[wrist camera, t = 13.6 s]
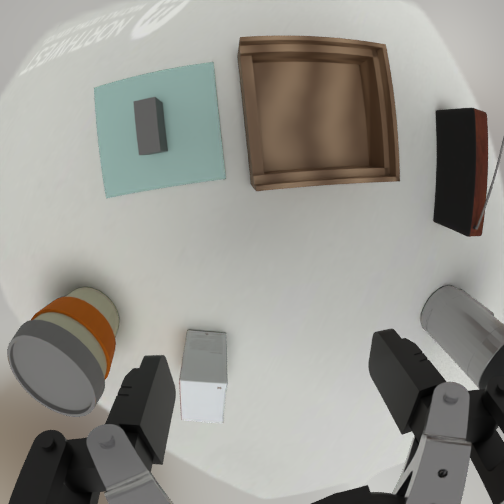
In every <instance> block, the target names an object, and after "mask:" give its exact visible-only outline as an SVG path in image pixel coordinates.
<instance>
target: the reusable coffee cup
mask: <svg viewBox="0 0 504 504" xmlns="http://www.w3.org/2000/svg"><path fill="white" fill-rule="evenodd" d="M118 327H119V316H118V312H117V310H116V308H115V306H114V304H113V303H112V301H111V300H110V299H109V298H108V297H107V296H106V295H104V294H103V293H102V292H100V291H98V290H96V289H93V288H89V287H81V288H78V289H76V290H74V291H72V292H71V293H70V294H68V295H67V296H65V297H61V298H58V299H56V300H55V301H53V302H52V303H50V304H49V305H47V306H46V307H44V308H43V309H42V310H40V311H39V312H37V313H36V314H35V315H34V316H33V318H32V319H31V321H27V322H26V323H24V324H23V325H22V326H21V327H20V328H19V330H18V331H17V333H16V334H15V336H14V337H13V339H12V340H11V342H10V343H9V346H8V350H7V354H8V361H9V364H10V367H11V370H12V372H13V374H14V375H15V377H16V379H17V380H18V382H19V383H20V384H21V386H22V387H23V388H24V389H25V390H26V391H27V392H28V393H29V394H30V395H31V396H32V397H33V398H34V399H35V400H37V401H38V402H39V403H41V404H42V405H44V406H45V407H47V408H49V409H50V410H53V411H55V412H57V413H60V414H63V415H66V416H73V417H80V416H85V415H87V414H89V413H90V412H91V411H92V410H93V409H94V407H95V406H96V404H97V402H98V401H99V399H100V397H101V396H102V394H103V391H104V388H105V379H106V378H107V377H108V374H109V371H110V367H111V363H112V359H113V355H114V352H115V345H116V342H115V337H116V333H117V330H118Z"/></svg>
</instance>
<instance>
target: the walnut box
mask: <svg viewBox="0 0 504 504" xmlns="http://www.w3.org/2000/svg"><path fill="white" fill-rule="evenodd" d="M238 65H239V74H240V84H241V93H242V103H243V112H244V121H245V131H246V141H247V150H248V160H249V170H250V179H251V185H252V186H253V188H254V189H255V190H256V191H263V190H273V189H283V188H294V187H306V186H319V185H333V184H349V183H368V182H392V181H400V169H399V146H398V132H397V120H396V110H395V101H394V93H393V85H392V78H391V72H390V66H389V60H388V54H387V49H386V44H380V43H374V42H367V41H359V40H351V39H342V38H330V37H315V36H252V37H240V41H239V49H238Z"/></svg>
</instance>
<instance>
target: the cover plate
mask: <svg viewBox="0 0 504 504" xmlns="http://www.w3.org/2000/svg"><path fill="white" fill-rule="evenodd" d="M94 95H95V111H96V124H97V134H98V144H99V152H100V160H101V167H102V174H103V181H104V187H105V193H106V198H110V197H115V196H120V195H125V194H131V193H136V192H142V191H147V190H153V189H159V188H165V187H171V186H178V185H184V184H191V183H198V182H205V181H213V180H220V179H226V176H225V168H224V159H223V150H222V141H221V132H220V123H219V114H218V104H217V95H216V85H215V75H214V65H213V62H210V63H203V64H196V65H189V66H183V67H177V68H172V69H166V70H161V71H157V72H152V73H147V74H143V75H139V76H135V77H131V78H127V79H123V80H119V81H116V82H112V83H109V84H105V85H102V86H99V87H96V88H94Z"/></svg>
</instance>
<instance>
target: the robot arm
mask: <svg viewBox="0 0 504 504" xmlns="http://www.w3.org/2000/svg"><path fill="white" fill-rule="evenodd" d="M421 324H422V327H423V328H424V329H425V330H426V332H427V333H428V334H429V335H430V336H431V337H432V338H433V339H434V340H435V341H436V342H437V343H438V344H439V345H440V346H441V347H442V348H443V349H444V351H445V352H446V353H447V354H448V355H449V356H450V357H451V358H452V359H453V360H454V361H455V362H456V364H457V365H458V366H459V367H460V368H461V369H462V370H463V371H464V372H465V373H466V375H467V376H468V377H469V378H470V379H471V380H472V381H473V382H474V383H475V385H476V386H477V387H478V388H479V389H480V390H472V391H467V389H466V388H465V387H464V386H462V385H461V384H458V383H455V382H446V381H445V379H444V378H443V377H442V376H441V374H440V373H439V372H438V371H437V369H436V368H435V367H434V366H433V364H432V363H431V362H430V361H429V360H427V357H426V356H425V355H424V353H423V354H422V351H421V350H420V349H419V347H418V346H417V345H416V344H415V343H413V342H411V341H410V340H408V339H406V338H403V339H401V337H400V336H399V335H398V334H397V332H396V331H395V330H394V329H387V330H383V331H378V332H375V333H374V334H373V338H372V345H371V351H370V358H369V372H370V376H371V378H372V380H373V381H374V383H375V385H376V387H377V389H378V391H379V392H380V394H381V396H382V398H383V400H384V402H385V404H386V405H387V407H388V409H389V411H390V413H391V415H392V417H393V419H394V420H395V422H396V424H397V426H398V428H399V430H400V432H401V434H405V433H408V432H411V431H412V432H413V434H414V435H415V436H414V438H413V440H412V443H411V446H410V450H409V453H408V456H407V459H406V462H405V465H404V468H403V471H402V473H401V476H400V478H399V480H398V482H397V484H396V486H395V488H394V490H393V492H392V494H391V493H382V492H370V490H369V487H368V485H367V486H363V487H359V488H356V489H352V490H348V491H344V492H340V493H335V494H333V495H330V496H328V497H326V498H324V499H321V500H319V501H316V502H314V503H311V504H460V503H461V499H462V495H463V491H464V486H465V481H466V476H467V471H468V465H469V459H470V458H471V460H472V462H473V464H474V466H475V468H476V470H477V471H478V473H479V475H480V478H481V479H482V481H483V483H484V485H485V488H486V490H487V492H488V494H489V496H490V498H491V500H492V503H493V504H504V442H503V440H502V438H501V437H500V435H499V434H498V432H497V431H496V429H497V428H498V426H499V427H500V429H501V430H502V432H503V433H504V324H503V323H501V322H500V321H499V320H498V319H496V318H495V317H494V314H493V312H491V311H490V310H489V309H488V308H486V307H485V306H484V305H482V304H481V303H480V302H478V301H477V300H475V299H474V298H473V297H471V296H470V295H469V294H467V293H466V292H464V291H463V290H462V289H460V290H458V289H457V288H455V287H453V286H444V287H442V288H440V289H438V290H437V291H436V292H435V293H434V294H433V295H432V296H431V297H430V298H429V299H428V301H427V303H426V304H425V306H424V309H423V311H422V315H421ZM175 398H176V391H175V385H174V382H173V379H172V376H171V373H170V369H169V366H168V363H167V360H166V357H165V356H164V355H152V356H144V358H143V360H142V363H141V365H140V368H133V369H132V370H131V371H130V372H129V373H128V374H127V375H126V376H125V378H124V380H123V382H122V385H121V388H120V389H119V392H118V396H116V399H115V401H114V404H113V406H112V409H111V411H110V414H109V416H108V419H107V421H106V423H105V424H104V425H100V426H98V427H96V428H95V429H93V430H92V431H91V432H90V433H89V435H88V437H87V438H82V439H72V440H66V438H65V437H64V436H63V435H62V433H60V432H59V431H56V430H48V431H44V432H42V433H41V434H39V435H38V436H37V437H36V438H35V440H34V442H33V444H32V446H31V449H30V451H29V453H28V455H27V458H26V460H25V462H24V465H23V467H22V469H21V472H20V474H19V477H18V479H17V482H16V484H15V488H14V490H13V492H12V495H11V498H10V501H9V504H98V499H99V495H100V492H103V491H106V492H105V497H106V499H107V501H108V503H109V504H173V503H172V501H171V500H170V499H169V497H168V496H167V495H166V493H165V492H164V491H163V489H162V488H161V486H160V485H159V484H158V482H157V481H156V479H155V478H154V476H153V475H152V473H151V468H152V464H161V465H162V464H163V459H164V454H165V449H166V443H167V438H168V433H169V428H170V423H171V418H172V413H173V408H174V403H175Z"/></svg>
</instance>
